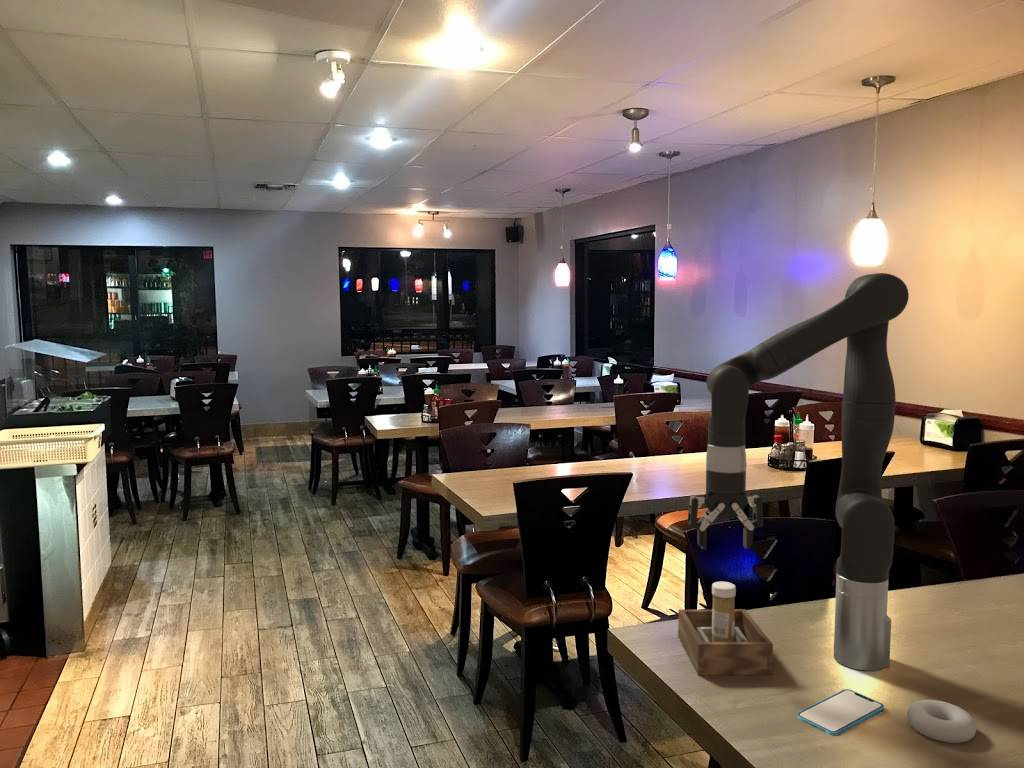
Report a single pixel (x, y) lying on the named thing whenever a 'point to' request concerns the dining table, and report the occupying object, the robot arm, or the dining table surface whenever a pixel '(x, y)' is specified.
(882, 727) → the dining table surface
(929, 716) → the donut
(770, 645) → the caddy
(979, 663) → the dining table surface
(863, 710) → the smartphone
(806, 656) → the dining table surface
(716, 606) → the sprinkles bottle
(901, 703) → the dining table surface
